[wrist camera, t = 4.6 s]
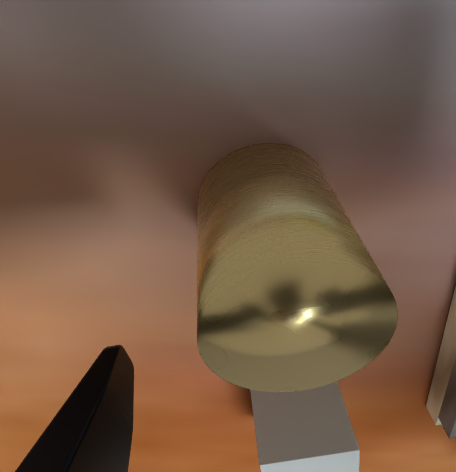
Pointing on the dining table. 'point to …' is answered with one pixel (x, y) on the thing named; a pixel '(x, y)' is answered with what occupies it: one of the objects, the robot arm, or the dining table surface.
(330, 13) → the dining table surface
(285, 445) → the grey block
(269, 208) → the brass cylinder
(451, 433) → the mounted unit
